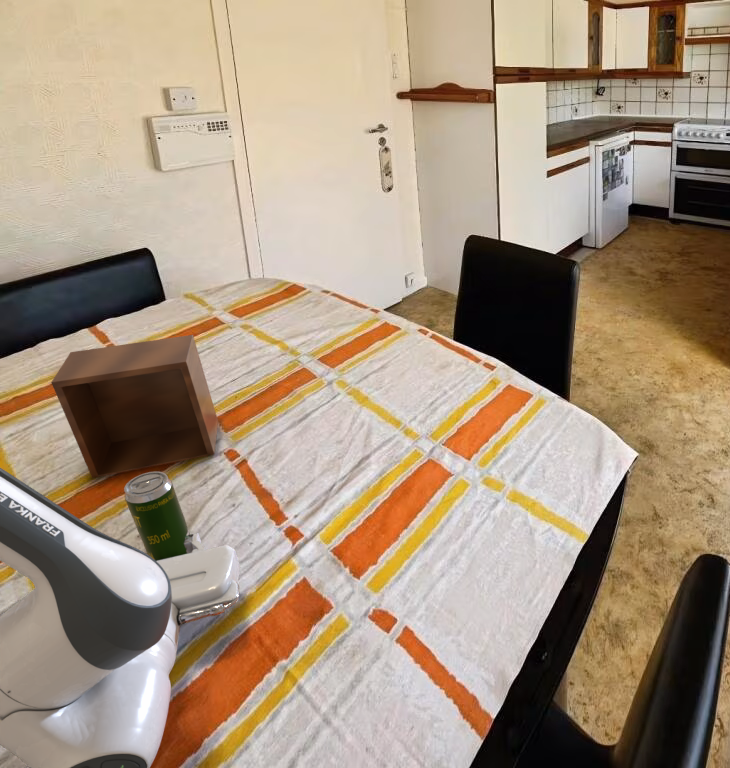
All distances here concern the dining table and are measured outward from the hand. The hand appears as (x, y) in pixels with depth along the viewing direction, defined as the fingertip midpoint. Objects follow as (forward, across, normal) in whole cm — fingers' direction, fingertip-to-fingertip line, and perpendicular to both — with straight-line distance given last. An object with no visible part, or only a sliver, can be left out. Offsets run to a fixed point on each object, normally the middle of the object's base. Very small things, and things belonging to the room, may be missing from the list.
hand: (151, 547), depth 76 cm
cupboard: (+34, +5, +6) cm, 35 cm away
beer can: (+6, 0, +6) cm, 9 cm away
